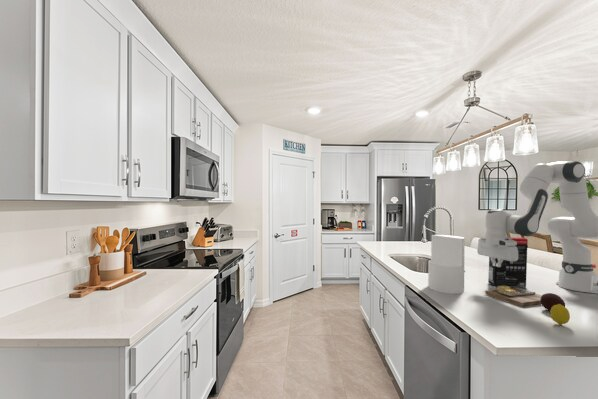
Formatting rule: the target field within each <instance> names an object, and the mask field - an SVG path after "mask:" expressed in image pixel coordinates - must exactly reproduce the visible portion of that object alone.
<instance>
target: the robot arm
mask: <svg viewBox="0 0 598 399" xmlns="http://www.w3.org/2000/svg"><path fill="white" fill-rule="evenodd" d="M585 174H586V167H585V166H584V164H583V163H582V162H580V161H576V160H568V161H567V160H566V161H564V160H563V161H555V162H550V163H549V162H548V163H538V164H535V165H534V166H533V167H531V169H530V170H529V171H528V172H527V173H526V175H525V176H524V178H523V179H522V181H521V182H520V186H519V191H520V193H521V194H522V196H524V197H525V198H527V199H528V200H531V201H530V204H529V206H528V208H527V211H526V213H525V214H522V215H519V214H518V215H515V214H512V213H509V212H507V211H505V210H504V209H503V208H494V209H489V210H488V211H487V212H486V215H485V228H486V232H485V238H483V237H481V238H479V239H478V243H477V252H476V253H477V254H478V255H479V256H484V257H490V259H491V261H492V263H493V266H496V267H501V263H502V262H503V260H507V261H517V260H518V249H517V247H516V246H515V245H517V242H516V241H514V240H512V239H510V238H508V237H509V236H507V234H512V235H519V236H523V237H532V236H534V235H535V234H536V233H537V232H538V231H539V228H540V222H541V219H542V216H543V214H544V210H545V208H546V206H547V202H548V199H549V193H548V191H547V190H548V188H549V187H550V184H552V183H555V184H556V183H558V184H559V185H558V186H559V187H558V191H559V192H558V193H559V200H560V206H561V208H562V209H563V210H565V211H567V212H568V213H570V214H572V216H557V217H552V218H551V219H549V221H548V222H547V229H548V231H549V232H550V234H552V235H554V236H555V237H556V238H557V239H558V241H559V242H560V245H561V248H562V261H561V269H560V270H559V273H558V281H556V282H555V284H556V285H558V287H560V288H563V289H566V290H570V291H576V292H581V293H582V292H583V293H592V294H598V274H597V273H596V272H595V271H594V269H596V268H597V264H593V263H592V251H591V249H590V248H589V247H588V246H587V245H584V244H583V243H582V242H581V241H580V240H579V239H580V238H582V239H593V240H594V239H595V240H596V239H598V215H597V213H595V212H594V210H593V209H592V207H591V205H590V201H589V192H588V186H587V181H586V179H585V177H584V176H585ZM496 258H498V263H496V261H495V259H496Z"/></svg>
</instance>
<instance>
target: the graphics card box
mask: <svg viewBox="0 0 598 399" xmlns="http://www.w3.org/2000/svg"><path fill="white" fill-rule="evenodd" d="M507 237H508V238H510V239H512V240H514V241H516V242H517V245H515V246H516V247H517V249H518V260H517V261H507V260H503V262H502V263H501V267H496V266H493V263H492V261H491V259H490V257H489V258H488V279H487V280H488V283H489V284H490V285H492V286H494V287H498V286H501V285H505V286H508V287H510V288H514V287H515V288H527V271H528V270H527V267H528V266H527V265H528V238H525V237H512V236H511V237H509V236H507ZM495 261H496V263H498V258H496V259H495Z"/></svg>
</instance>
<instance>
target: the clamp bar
mask: <svg viewBox="0 0 598 399" xmlns="http://www.w3.org/2000/svg"><path fill="white" fill-rule="evenodd" d="M523 290H524V291H516V293H507V292H504V294H506V295H509V296H516V295H530V294H535V293H536V291H532V290H528V289H526V290H525V289H523Z"/></svg>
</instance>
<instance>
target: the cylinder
mask: <svg viewBox="0 0 598 399" xmlns="http://www.w3.org/2000/svg"><path fill="white" fill-rule="evenodd" d="M430 241H431V250H430V252H431V255H430V256H431V259H430V260H428V265H427V266H428V275H427V276H428V279H427V281H428V282H427V284H428V288H429V289H431V290H432V291H435V292H439V293H443V294H450V295H452V294H453V295H455V294H462V293H465V243H466V242H465V237H463V236H458V235H452V234H451V235H450V234H448V235H447V234H432V235H431V240H430Z"/></svg>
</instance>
